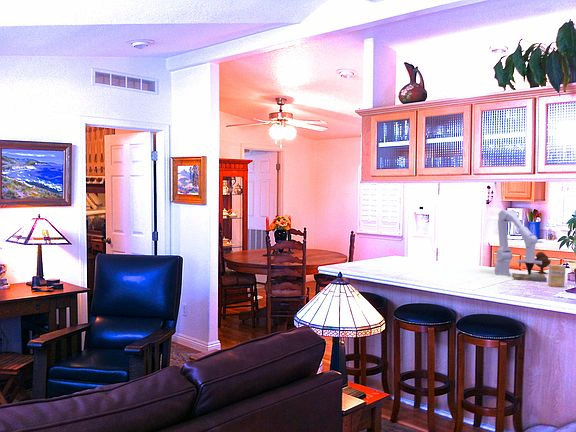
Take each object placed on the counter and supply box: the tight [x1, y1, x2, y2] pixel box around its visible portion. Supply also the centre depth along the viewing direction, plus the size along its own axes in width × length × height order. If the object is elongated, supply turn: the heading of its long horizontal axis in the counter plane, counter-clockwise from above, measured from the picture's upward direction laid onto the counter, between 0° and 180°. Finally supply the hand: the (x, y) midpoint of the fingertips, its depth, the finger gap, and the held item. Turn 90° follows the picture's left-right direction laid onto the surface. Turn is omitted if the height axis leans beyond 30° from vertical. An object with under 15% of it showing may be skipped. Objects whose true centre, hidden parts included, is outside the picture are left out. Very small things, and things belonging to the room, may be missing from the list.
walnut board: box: [511, 273, 532, 282], centre depth 373 cm, size 10×14×2 cm
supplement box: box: [547, 264, 566, 288], centre depth 348 cm, size 8×5×13 cm, turn 82°
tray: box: [530, 273, 548, 283], centre depth 371 cm, size 9×15×2 cm, turn 163°
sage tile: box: [529, 271, 538, 277], centre depth 371 cm, size 4×4×2 cm
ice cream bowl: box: [535, 251, 551, 275], centre depth 396 cm, size 11×11×15 cm
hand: (529, 274), depth 372 cm, fingers closed
